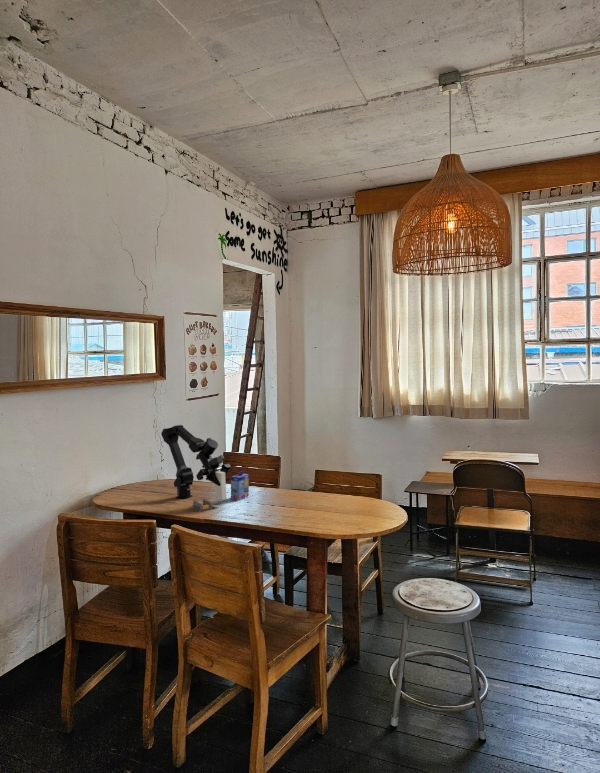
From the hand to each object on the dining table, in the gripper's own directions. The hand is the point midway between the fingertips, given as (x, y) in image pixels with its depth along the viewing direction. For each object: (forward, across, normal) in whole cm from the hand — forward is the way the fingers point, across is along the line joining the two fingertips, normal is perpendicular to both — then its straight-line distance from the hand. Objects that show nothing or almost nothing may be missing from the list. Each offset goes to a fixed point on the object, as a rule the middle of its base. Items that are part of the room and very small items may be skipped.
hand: (222, 485), depth 260 cm
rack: (+3, -8, +12) cm, 15 cm away
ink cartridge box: (+4, +16, +11) cm, 20 cm away
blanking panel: (+4, 0, +6) cm, 7 cm away
